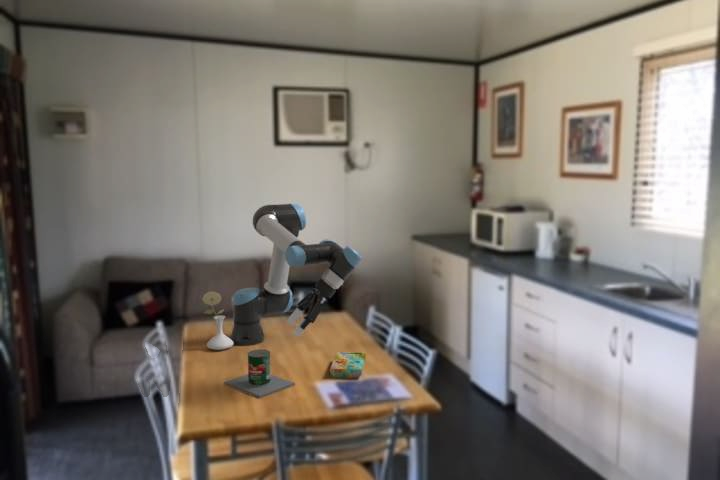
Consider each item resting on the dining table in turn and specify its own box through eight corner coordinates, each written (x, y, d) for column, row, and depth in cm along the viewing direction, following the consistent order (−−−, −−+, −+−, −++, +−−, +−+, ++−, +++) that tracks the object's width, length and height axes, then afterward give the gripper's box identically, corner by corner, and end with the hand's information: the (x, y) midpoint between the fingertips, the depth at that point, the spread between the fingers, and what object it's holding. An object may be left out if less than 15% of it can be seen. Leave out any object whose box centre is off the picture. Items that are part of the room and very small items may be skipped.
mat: (223, 384, 208) (223, 382, 208) (258, 372, 220) (258, 370, 220) (260, 398, 195) (260, 395, 195) (294, 384, 207) (294, 382, 207)
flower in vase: (237, 344, 257) (235, 288, 254) (228, 352, 246) (227, 294, 243) (208, 343, 258) (206, 288, 255) (199, 351, 247) (196, 293, 244)
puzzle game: (330, 366, 214) (336, 350, 234) (330, 378, 215) (336, 361, 234) (361, 367, 213) (365, 350, 233) (361, 379, 214) (365, 362, 233)
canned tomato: (248, 387, 203) (247, 357, 202) (248, 379, 211) (247, 350, 209) (271, 385, 205) (270, 355, 203) (270, 377, 212) (269, 348, 211)
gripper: (345, 298, 202) (306, 346, 201) (328, 282, 226) (293, 324, 225) (329, 285, 200) (289, 333, 199) (314, 270, 224) (278, 313, 222)
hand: (291, 329), depth 212 cm, fingers open, 13 cm apart
